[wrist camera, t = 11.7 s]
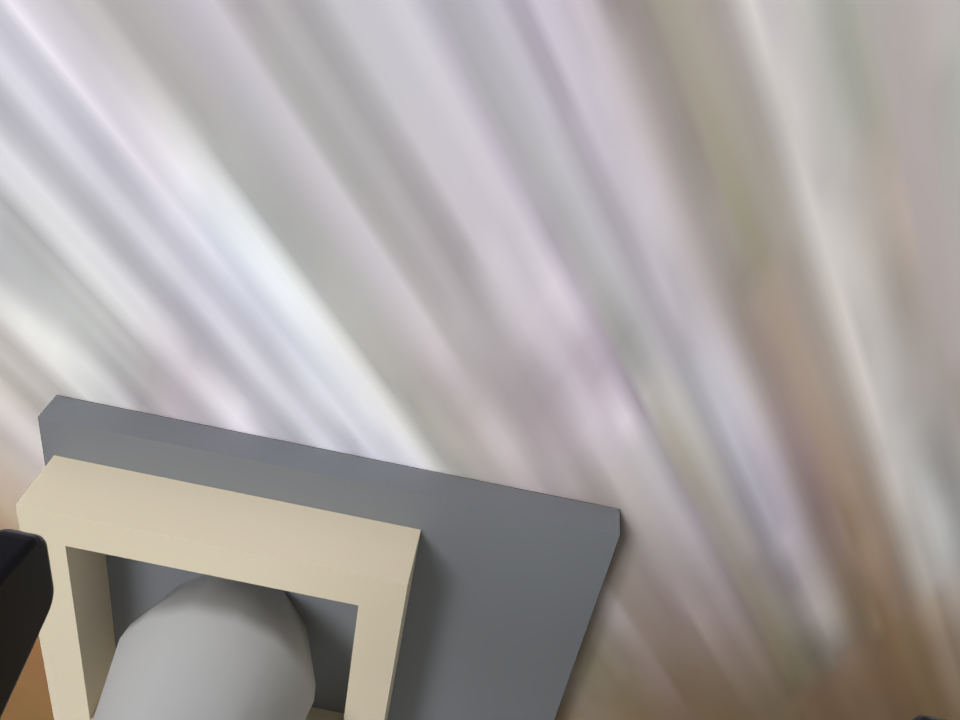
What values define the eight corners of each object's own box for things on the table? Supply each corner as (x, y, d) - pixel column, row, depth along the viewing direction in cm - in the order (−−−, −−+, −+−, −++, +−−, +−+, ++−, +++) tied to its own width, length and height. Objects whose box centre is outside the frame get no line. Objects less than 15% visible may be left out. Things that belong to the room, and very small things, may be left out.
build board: (619, 509, 25) (620, 591, 23) (529, 767, 33) (523, 851, 30) (56, 395, 26) (-3, 465, 23) (93, 678, 33) (51, 754, 30)
